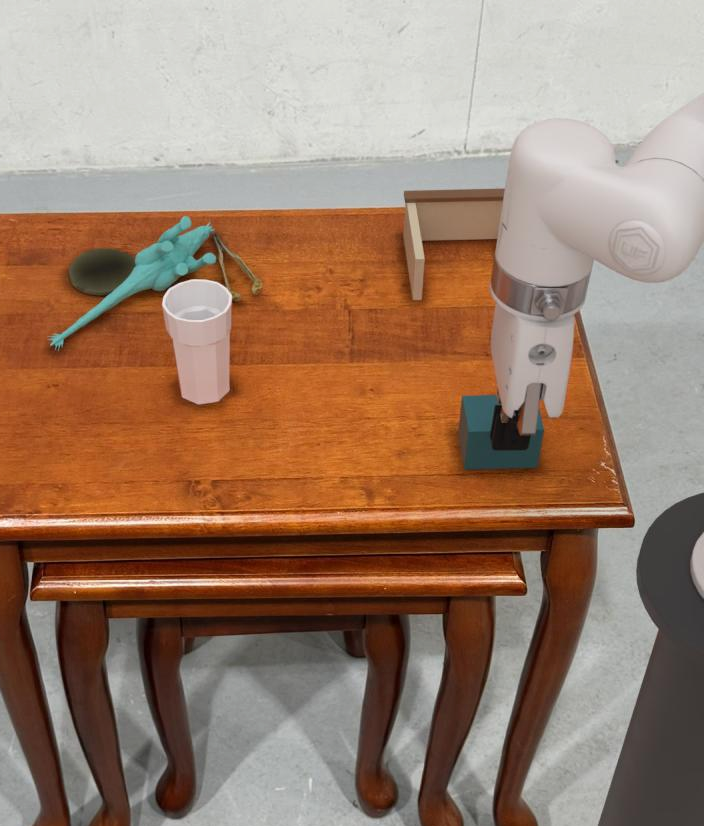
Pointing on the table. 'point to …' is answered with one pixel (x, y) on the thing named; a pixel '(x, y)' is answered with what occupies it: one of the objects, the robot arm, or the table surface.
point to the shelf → (447, 222)
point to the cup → (200, 337)
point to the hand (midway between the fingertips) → (508, 443)
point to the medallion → (100, 270)
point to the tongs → (238, 260)
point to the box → (478, 442)
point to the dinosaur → (154, 269)
